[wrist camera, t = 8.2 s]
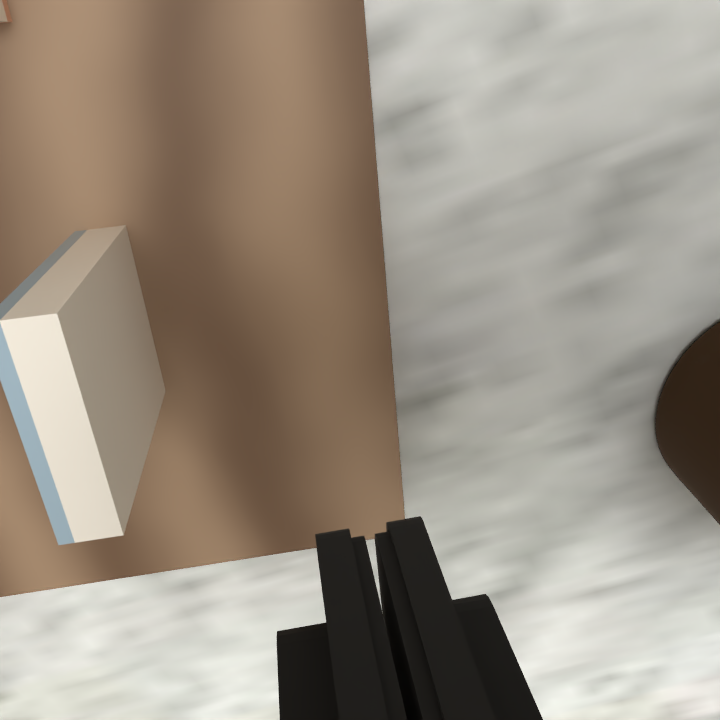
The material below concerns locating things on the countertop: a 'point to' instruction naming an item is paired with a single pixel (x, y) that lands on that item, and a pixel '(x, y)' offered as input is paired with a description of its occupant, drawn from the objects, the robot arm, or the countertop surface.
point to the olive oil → (694, 420)
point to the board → (210, 268)
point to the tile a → (4, 12)
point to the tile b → (83, 381)
